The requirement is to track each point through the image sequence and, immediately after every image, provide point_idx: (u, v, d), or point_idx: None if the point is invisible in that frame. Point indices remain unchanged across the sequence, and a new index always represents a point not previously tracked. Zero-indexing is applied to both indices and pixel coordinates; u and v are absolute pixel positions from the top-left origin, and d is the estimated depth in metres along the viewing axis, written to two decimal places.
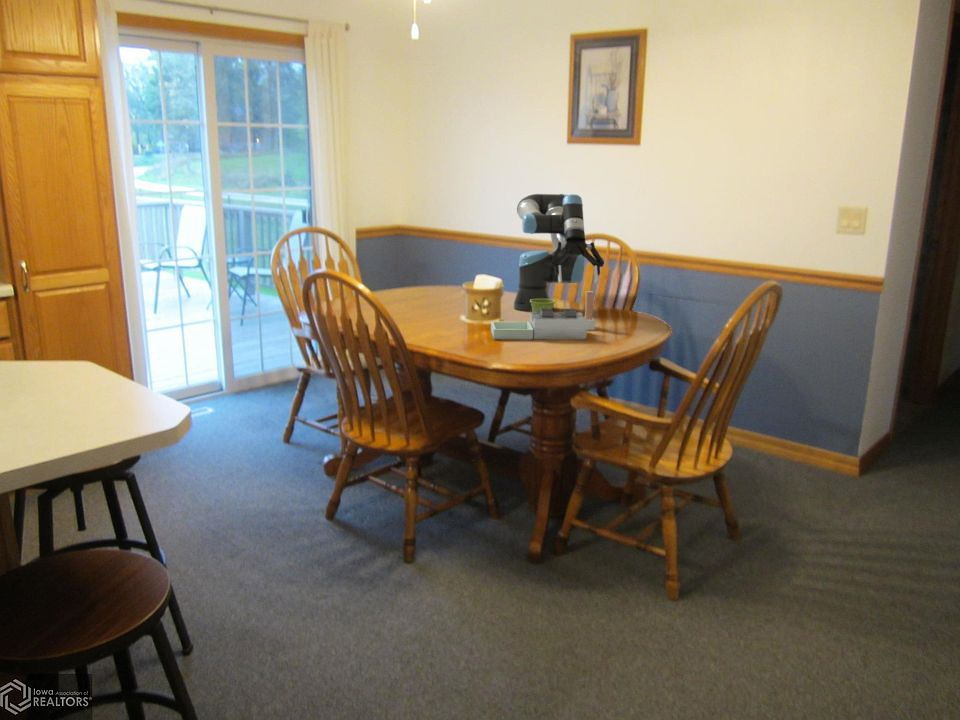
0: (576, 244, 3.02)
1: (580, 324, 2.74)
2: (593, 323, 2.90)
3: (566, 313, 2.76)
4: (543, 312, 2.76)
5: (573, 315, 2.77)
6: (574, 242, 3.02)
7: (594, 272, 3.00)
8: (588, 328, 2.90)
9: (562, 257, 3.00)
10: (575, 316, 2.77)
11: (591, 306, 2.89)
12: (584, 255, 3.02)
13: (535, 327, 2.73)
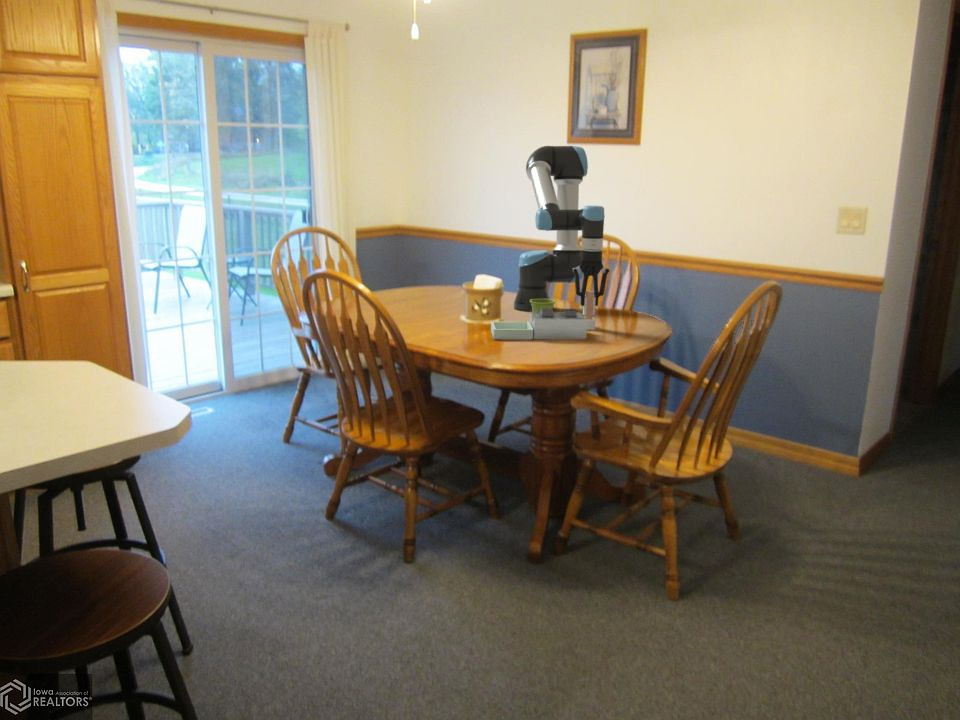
0: (593, 262, 2.86)
1: (580, 324, 2.74)
2: (593, 323, 2.90)
3: (566, 313, 2.76)
4: (543, 312, 2.76)
5: (573, 315, 2.77)
6: (590, 264, 2.86)
7: None
8: (588, 328, 2.90)
9: (584, 286, 2.87)
10: (575, 316, 2.77)
11: (591, 306, 2.89)
12: (593, 277, 2.89)
13: (535, 327, 2.73)
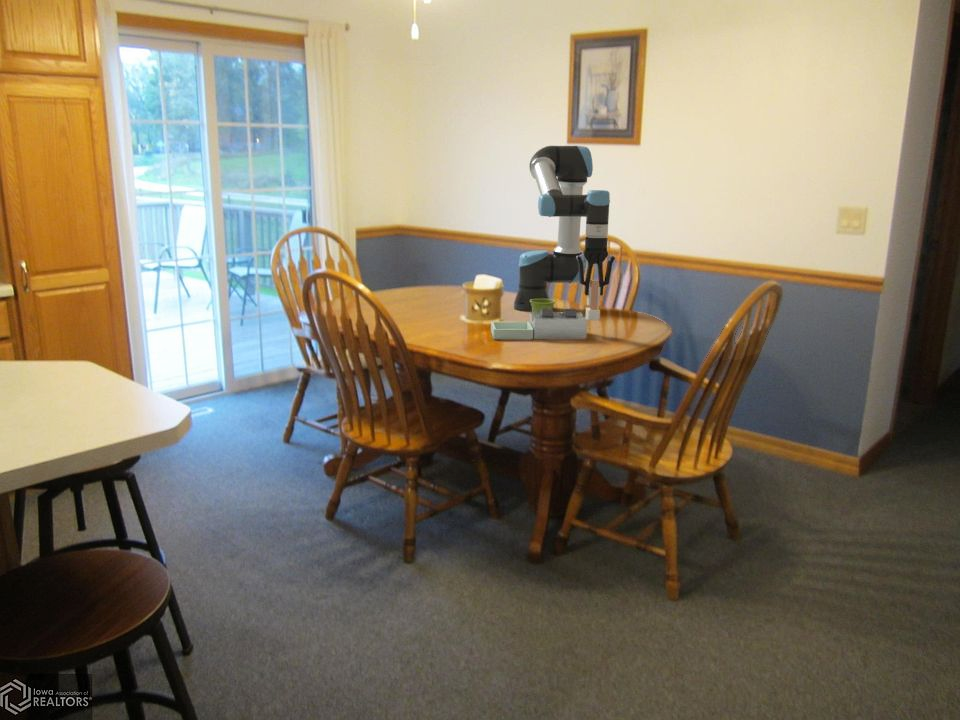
0: (598, 249, 2.72)
1: (580, 324, 2.74)
2: (598, 313, 2.76)
3: (566, 313, 2.76)
4: (543, 312, 2.76)
5: (573, 315, 2.77)
6: (594, 251, 2.72)
7: None
8: (593, 319, 2.77)
9: (589, 274, 2.74)
10: (575, 316, 2.77)
11: (596, 295, 2.76)
12: (598, 266, 2.75)
13: (535, 327, 2.73)
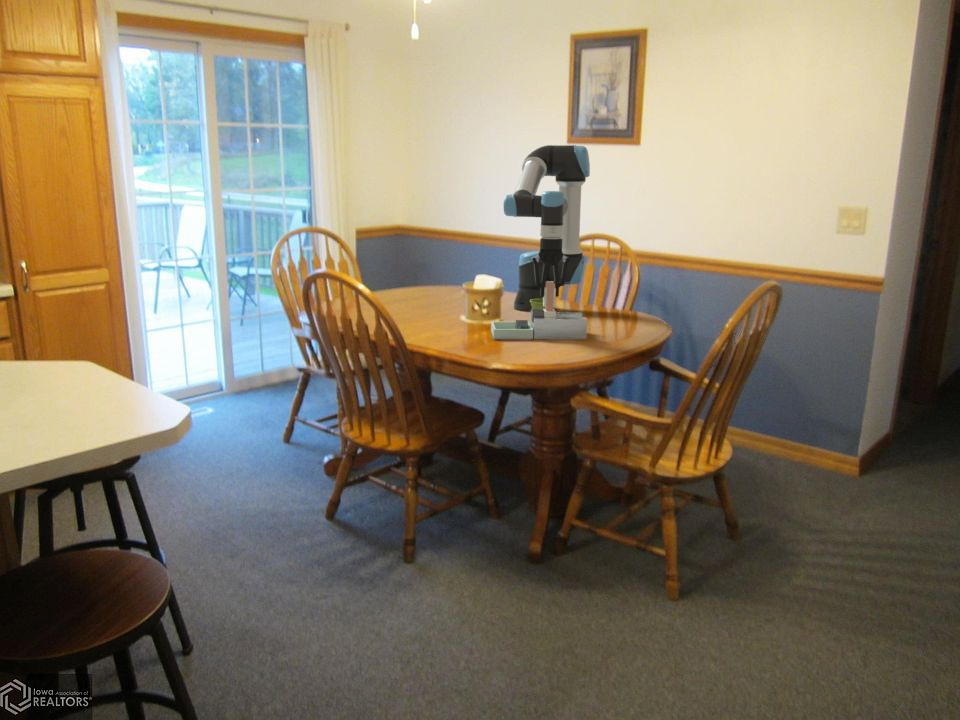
0: (553, 250, 2.72)
1: (580, 324, 2.74)
2: (554, 315, 2.76)
3: (533, 313, 2.76)
4: None
5: (540, 315, 2.76)
6: (549, 252, 2.72)
7: None
8: None
9: (544, 276, 2.74)
10: None
11: (551, 297, 2.76)
12: (553, 267, 2.75)
13: (535, 327, 2.73)
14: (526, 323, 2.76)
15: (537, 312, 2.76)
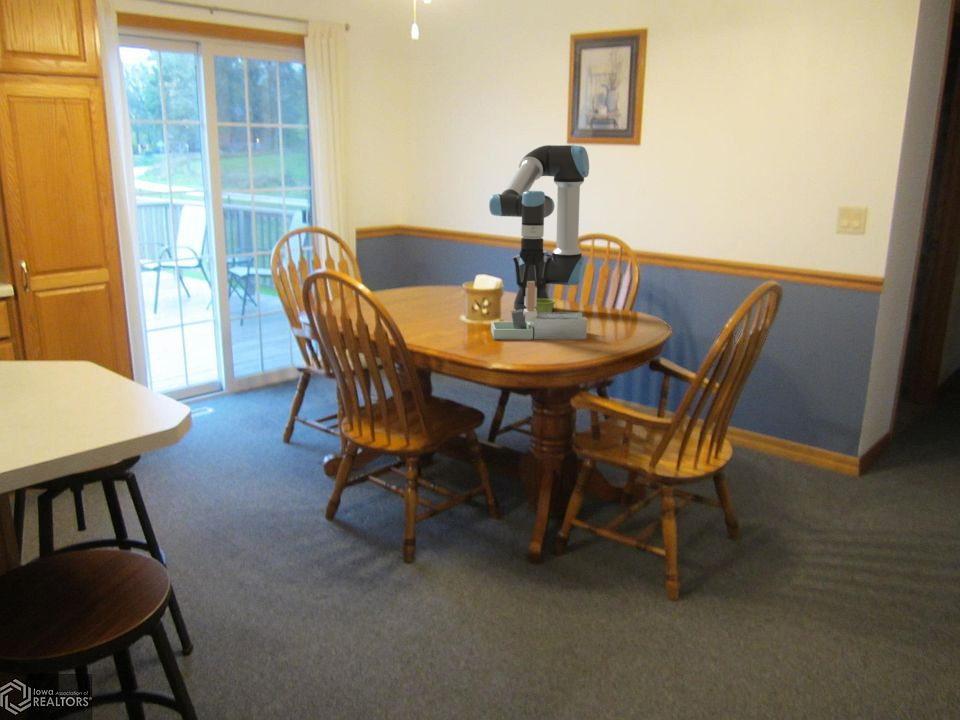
0: (534, 250, 2.71)
1: (580, 324, 2.74)
2: (535, 315, 2.75)
3: (513, 315, 2.75)
4: None
5: (520, 316, 2.75)
6: (530, 252, 2.71)
7: None
8: (529, 320, 2.76)
9: (525, 276, 2.73)
10: (523, 317, 2.76)
11: (532, 297, 2.75)
12: (534, 267, 2.74)
13: (535, 327, 2.73)
14: None
15: (516, 313, 2.75)
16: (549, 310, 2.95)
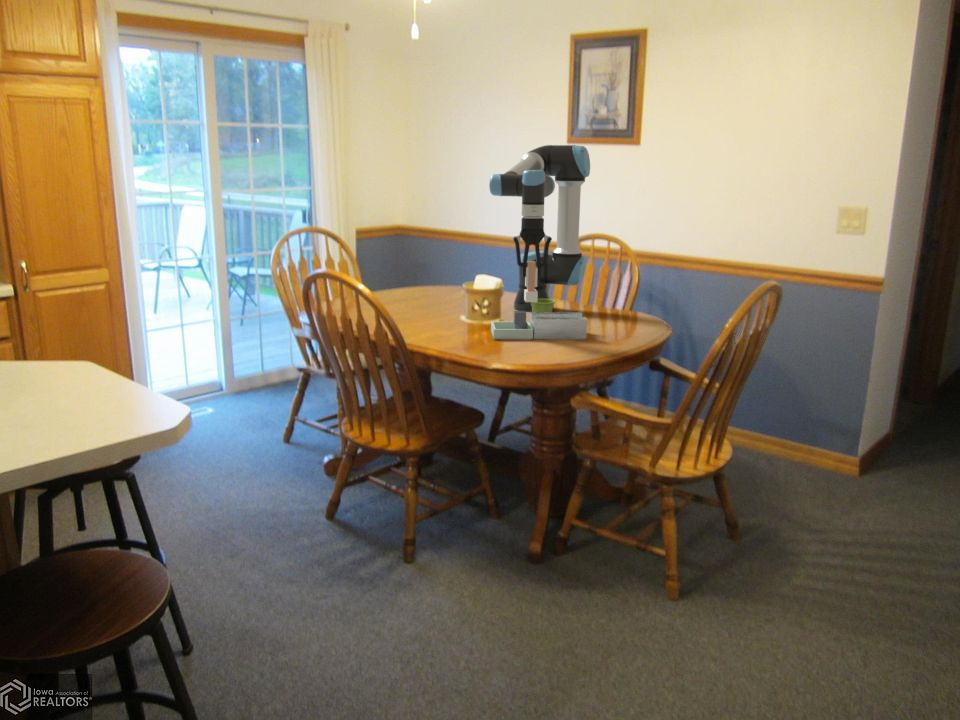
0: (534, 229, 2.70)
1: (580, 324, 2.74)
2: (535, 295, 2.74)
3: (515, 315, 2.75)
4: None
5: (523, 317, 2.76)
6: (531, 232, 2.70)
7: None
8: (530, 300, 2.74)
9: (526, 256, 2.72)
10: (524, 318, 2.76)
11: (533, 277, 2.74)
12: (535, 247, 2.73)
13: (535, 327, 2.73)
14: None
15: (519, 314, 2.75)
16: (549, 310, 2.95)
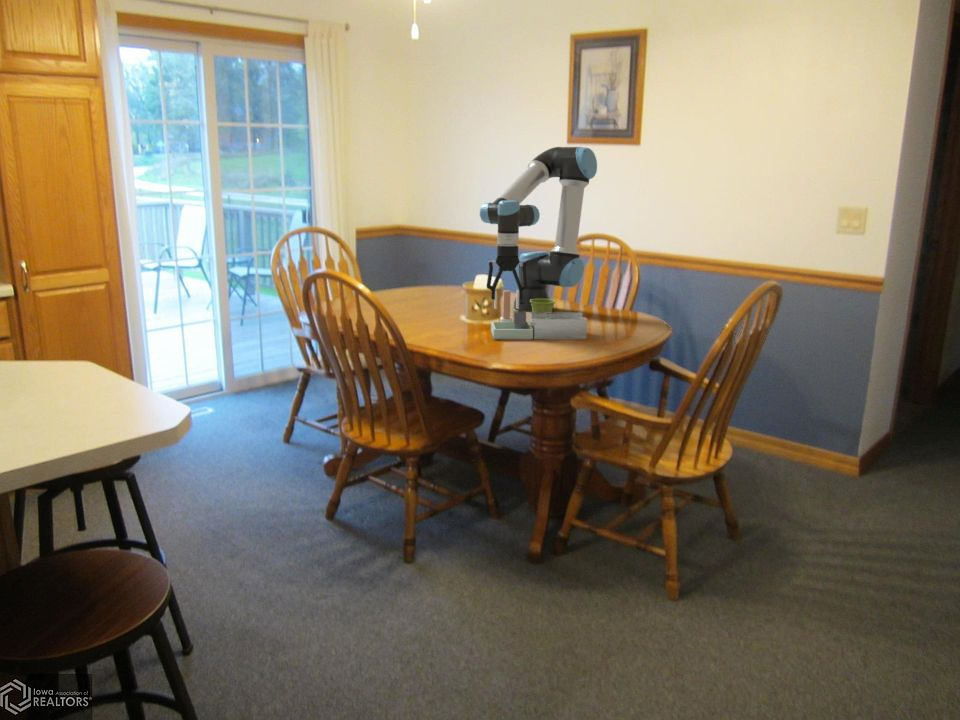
0: (508, 258, 2.85)
1: (580, 324, 2.74)
2: None
3: (515, 315, 2.75)
4: None
5: (523, 317, 2.76)
6: (506, 259, 2.85)
7: (516, 296, 2.90)
8: None
9: (497, 280, 2.86)
10: (524, 318, 2.76)
11: (508, 305, 2.89)
12: None
13: (535, 327, 2.73)
14: None
15: (519, 314, 2.75)
16: (549, 310, 2.95)
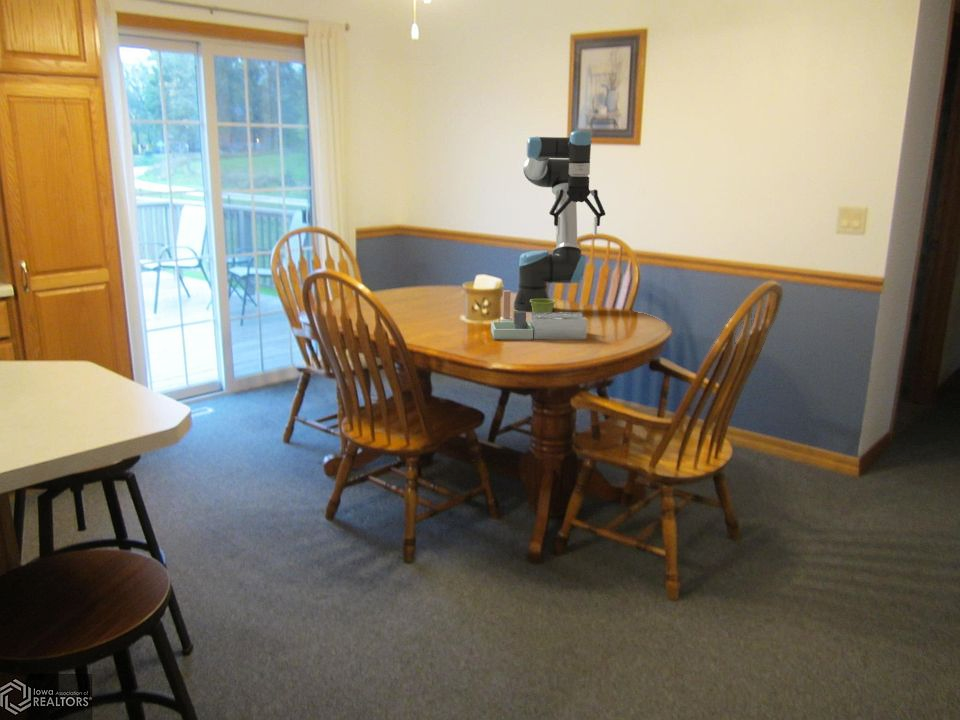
0: (579, 192, 2.89)
1: (580, 324, 2.74)
2: None
3: (515, 315, 2.75)
4: None
5: (523, 317, 2.76)
6: (577, 189, 2.89)
7: (594, 223, 2.93)
8: None
9: (563, 208, 2.90)
10: (524, 318, 2.76)
11: (508, 305, 2.89)
12: (586, 202, 2.92)
13: (535, 327, 2.73)
14: None
15: (519, 314, 2.75)
16: (549, 310, 2.95)
